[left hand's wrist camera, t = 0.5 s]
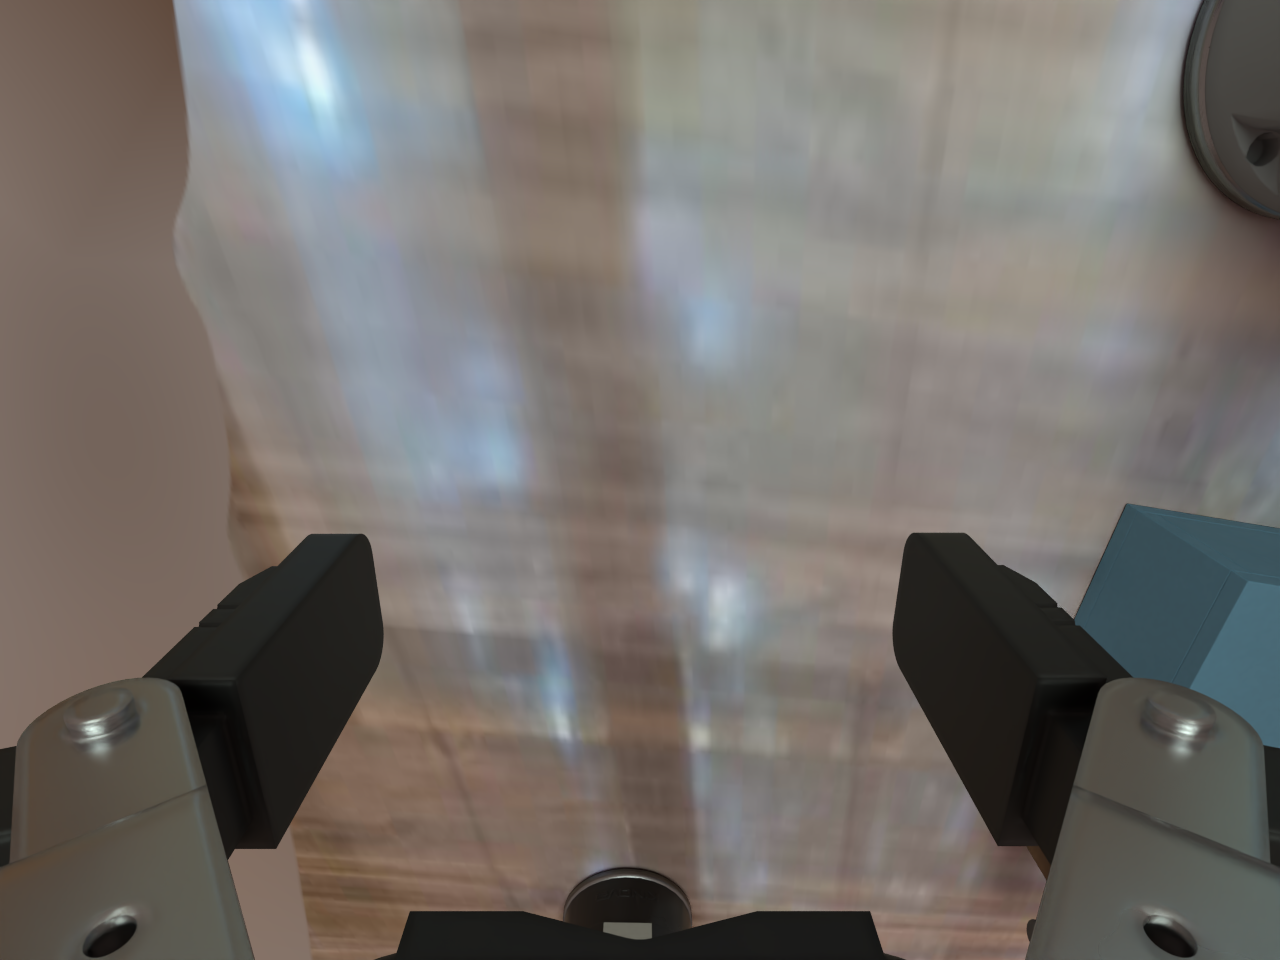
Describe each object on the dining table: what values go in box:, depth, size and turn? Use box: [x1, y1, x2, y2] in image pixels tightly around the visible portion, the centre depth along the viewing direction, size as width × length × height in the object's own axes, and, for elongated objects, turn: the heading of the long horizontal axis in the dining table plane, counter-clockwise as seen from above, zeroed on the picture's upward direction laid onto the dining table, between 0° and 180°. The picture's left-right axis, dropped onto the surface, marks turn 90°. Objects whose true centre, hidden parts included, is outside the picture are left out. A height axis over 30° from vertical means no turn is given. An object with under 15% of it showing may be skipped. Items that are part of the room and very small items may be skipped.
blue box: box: [1074, 504, 1280, 748], centre depth 42 cm, size 21×11×9 cm, turn 170°
